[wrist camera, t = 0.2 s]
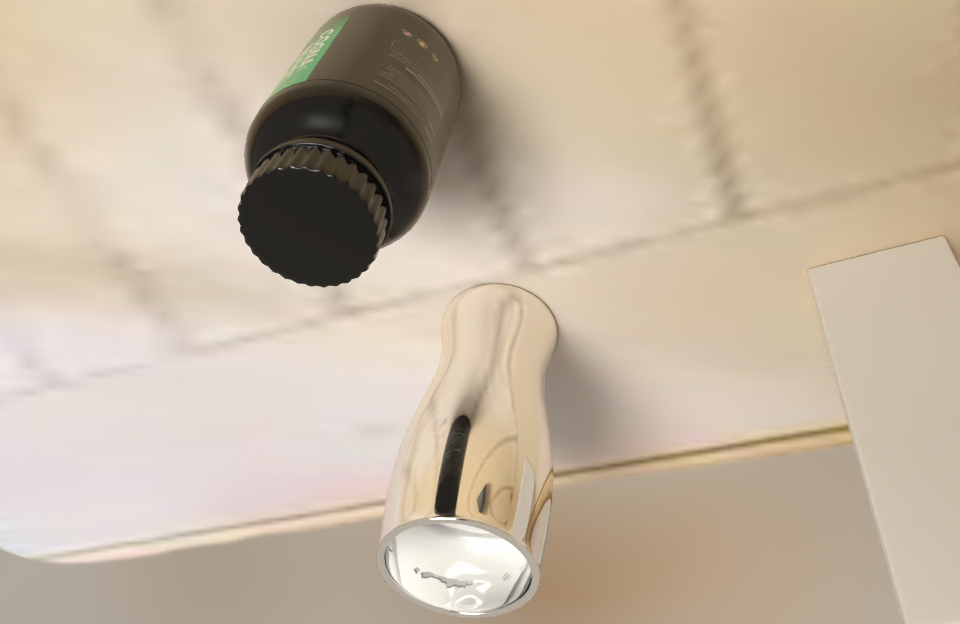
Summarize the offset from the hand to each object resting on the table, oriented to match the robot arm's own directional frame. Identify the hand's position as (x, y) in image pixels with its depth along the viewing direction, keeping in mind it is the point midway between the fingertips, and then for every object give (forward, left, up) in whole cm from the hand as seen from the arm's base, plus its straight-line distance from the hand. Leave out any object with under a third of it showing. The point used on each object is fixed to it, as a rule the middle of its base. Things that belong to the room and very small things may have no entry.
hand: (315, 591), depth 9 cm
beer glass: (+16, -14, -30) cm, 37 cm away
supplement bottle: (+2, -10, -30) cm, 32 cm away
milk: (+24, +3, -30) cm, 39 cm away
